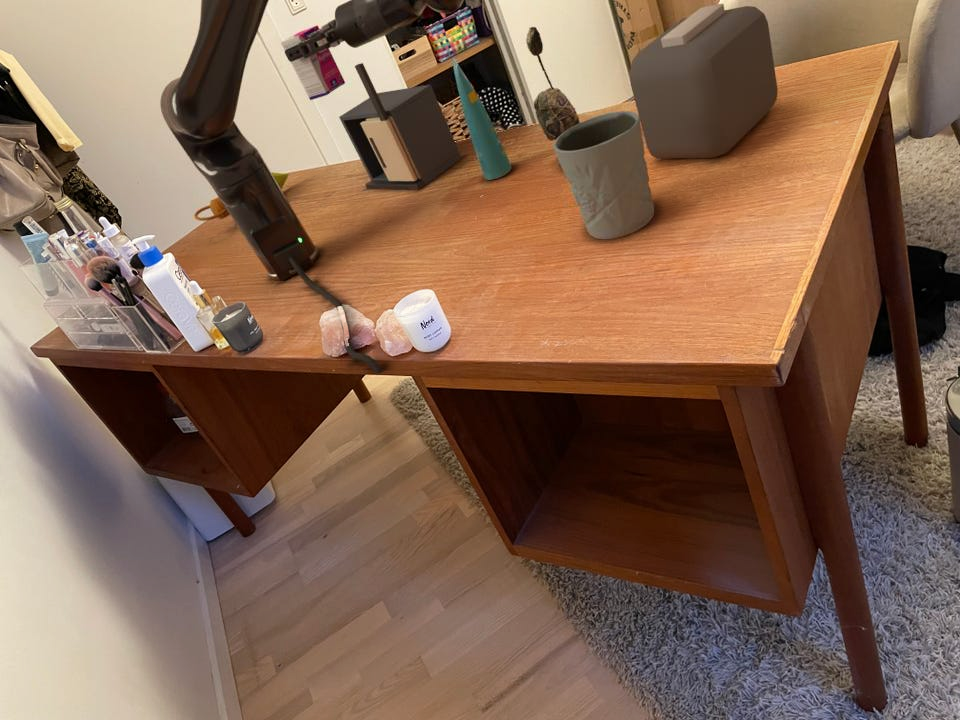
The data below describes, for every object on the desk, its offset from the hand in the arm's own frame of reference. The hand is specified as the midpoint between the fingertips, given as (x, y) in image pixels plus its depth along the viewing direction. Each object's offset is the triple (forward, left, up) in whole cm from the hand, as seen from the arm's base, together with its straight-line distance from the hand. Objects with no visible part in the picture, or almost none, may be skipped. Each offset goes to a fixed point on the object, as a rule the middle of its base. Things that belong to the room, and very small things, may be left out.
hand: (296, 50), depth 132 cm
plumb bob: (+15, +25, -27) cm, 40 cm away
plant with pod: (-49, -29, -27) cm, 63 cm away
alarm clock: (-66, -43, -27) cm, 84 cm away
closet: (-15, -9, -27) cm, 32 cm away
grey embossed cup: (-74, -23, -27) cm, 82 cm away
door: (-21, -6, -26) cm, 34 cm away
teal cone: (-38, -19, -27) cm, 51 cm away
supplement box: (-1, -2, -9) cm, 9 cm away
